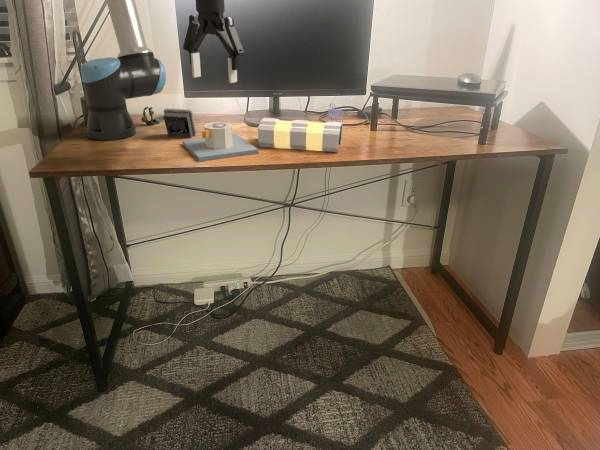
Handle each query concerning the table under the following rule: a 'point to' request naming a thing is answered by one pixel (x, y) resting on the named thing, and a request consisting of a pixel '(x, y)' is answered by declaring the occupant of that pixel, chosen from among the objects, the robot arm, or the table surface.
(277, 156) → the table surface
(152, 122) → the zombie figurine
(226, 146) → the beige octagonal hollow block
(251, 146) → the shaft plate
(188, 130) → the electrical switch
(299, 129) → the striped octagonal tube
